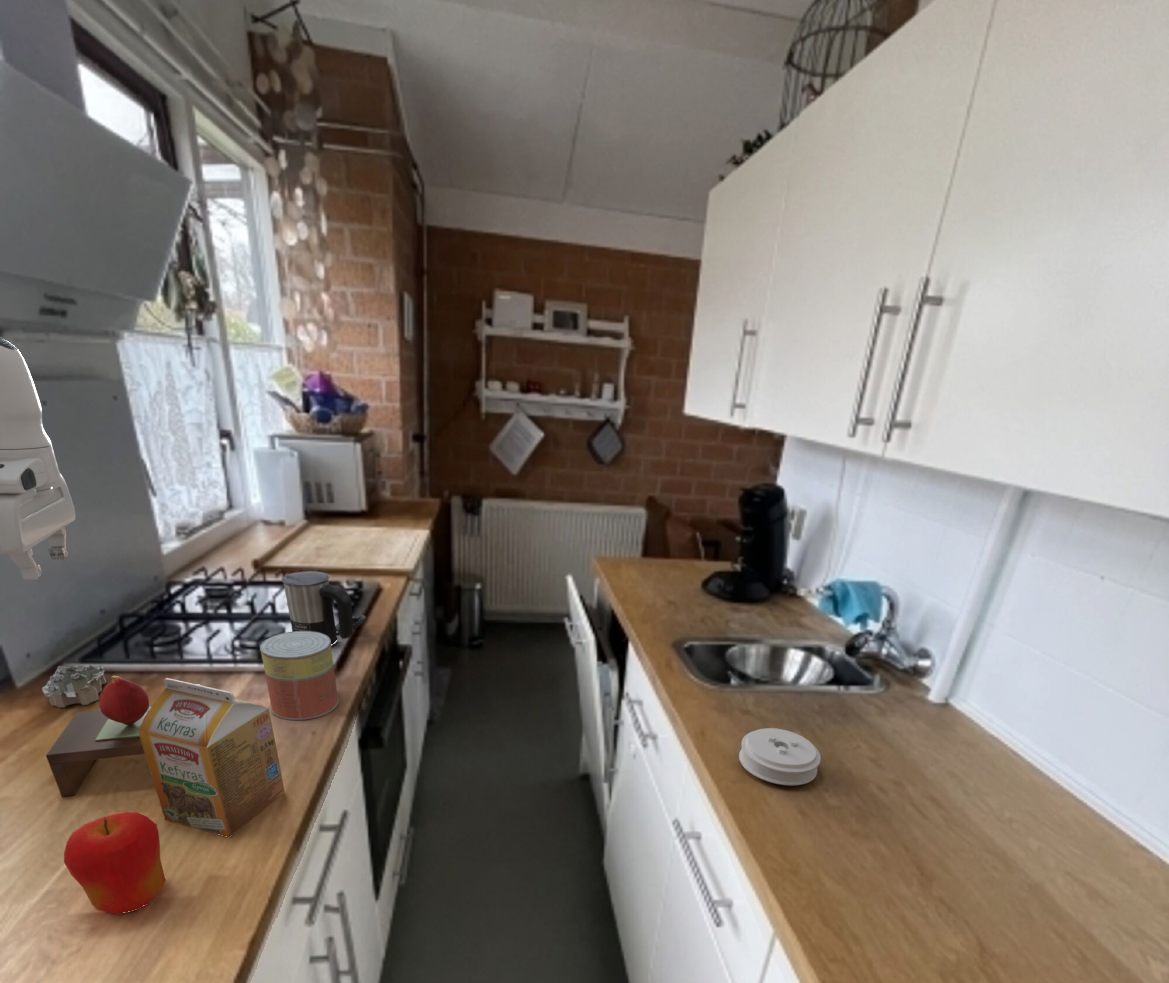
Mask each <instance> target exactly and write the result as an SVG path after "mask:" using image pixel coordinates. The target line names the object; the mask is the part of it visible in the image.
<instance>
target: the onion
mask: <svg viewBox="0 0 1169 983" xmlns="http://www.w3.org/2000/svg"><path fill="white" fill-rule="evenodd" d="M109 679H110V681H111V682H109V683H108V684H105V686H104V688H102V692H100V694H99V696H98V697H99V699H98V706H99V710H101V712H102V714H104V715H105V716H106V717H107V718H109V719H111V720H113V721H116V722H119V723H123V724H125V725H133V724H134V723H135V722H137V721H138V720H139V719H141V718H142V717H143V716H144V714H145V713H146V712H147V710H148V707H149V706H150V700H149V695H148V693H147V691H146V690H145V688H143V687H142V686H141V685H140V684H138V683H137V682H134V681H132V680H129V679H126V678H123V677H120V676H118V675H112V676H110V678H109Z"/></svg>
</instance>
